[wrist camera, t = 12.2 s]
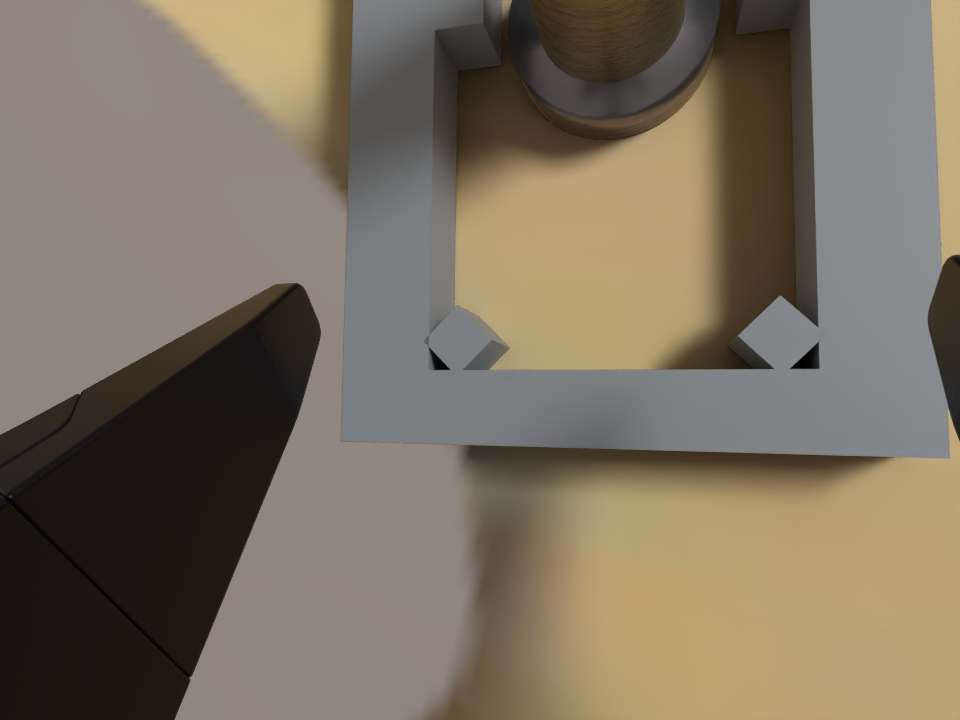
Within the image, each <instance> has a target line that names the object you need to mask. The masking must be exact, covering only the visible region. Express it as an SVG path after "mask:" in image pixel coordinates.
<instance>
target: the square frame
mask: <svg viewBox="0 0 960 720" xmlns="http://www.w3.org/2000/svg"><path fill="white" fill-rule="evenodd" d="M787 28H790V61H791V102H792V143H793V184H794V225H795V266H796V307H797V309H796V308H795V307H794V306H793V305H791V304H790V303H789V302H788V301H787V300H786V299H784V298H783V297H782V296H781V295H780V296H779V297H778V298H777V299H775V300H774V301H773V302H772V303H771V304H770V305H769V306H768V307H766V308H765V309H764V310H763V311H762V312H761V313H760V314H759V315H758V316H757V317H756V318H755V319H754V320H753V321H752V322H751V323H750V324H749V325H747V326H746V327H745V328H744V329H743V330H742V331H741V332H740V333H739V334H738V335H737V336H736V337H735V338H734V339H733V340H732V341H731V342H730V343H729V344H728V346H729V347H730V348H731V349H732V350H733V351H734V352H735V353H736V354H737V355H739V356H740V357H741V358H742V359H743V360H744V361H745V362H746V363H747V364H748V365H750V366H751V367H752V368H753V369H671V370H489V369H490V368H491V367H492V366H493V365H494V364H495V363H496V361H497V360H498V359H499V358H500V357H501V356H502V355H503V354H504V353H505V352H506V351H507V350H508V349H509V348H510V347H509V346H508V345H507V344H506V343H505V342H504V341H503V340H502V339H501V338H500V337H499V336H498V335H497V334H496V333H495V332H494V331H493V330H492V329H491V328H490V327H489V326H488V325H487V324H486V323H485V322H484V321H483V320H482V319H481V318H480V317H479V316H477V315H475V314H473V313H472V312H470V311H468V310H466V309H464V308H462V307H461V306H459V305H457V306H456V307H455V308H454V290H455V226H456V163H457V99H458V71H461V70H469V69H476V68H484V67H492V66H500V65H502V0H353V28H352V63H351V98H350V133H349V169H348V204H347V240H346V274H345V309H344V345H343V346H344V347H343V380H342V415H341V441H345V442H346V441H347V442H381V443H418V444H451V445H487V446H522V447H558V448H593V449H628V450H664V451H699V452H735V453H770V454H805V455H841V456H876V457H912V458H947V459H950V450H949V426H948V404H947V400H946V396H945V392H944V388H943V384H942V380H941V376H940V372H939V368H938V364H937V360H936V356H935V353H934V349H933V345H932V341H931V337H930V333H929V329H928V310H929V307H930V304H931V301H932V297H933V294H934V291H935V288H936V285H937V282H938V279H939V276H940V273H941V270H942V257H941V233H940V209H939V185H938V161H937V137H936V113H935V89H934V65H933V41H932V17H931V0H735V35H740V34H748V33H756V32H763V31H771V30H779V29H787ZM797 361H798V369H790V368H791V367H792V366H793V365H794V364H795V363H796V362H797Z"/></svg>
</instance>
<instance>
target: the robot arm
mask: <svg viewBox="0 0 960 720" xmlns="http://www.w3.org/2000/svg"><path fill="white" fill-rule="evenodd" d="M928 329H929V333H930V337H931V341H932V345H933V349H934V353H935V356H936V360H937V364H938V368H939V372H940V376H941V380H942V384H943V388H944V392H945V396H946V400H947V404H948V408H949V411H950V415H951V418H952V422H953V425H954V428H955V430H956V433H957V436H958V438H959V441H960V255H953V256H951V257H950V258H948V259H947V260H946V262H945V263H944V265H943V267H942V270H941V273H940V276H939V279H938V282H937V285H936V288H935V291H934V294H933V297H932V301H931V304H930V307H929V310H928ZM320 335H321V330H320V324H319V321H318V319H317V317H316V314H315V312H314V309H313V307H312V305H311V303H310V300H309V297H308V295H307V293H306V291H305V289H304V288H303V286H301V285H300V284H298V283H287V284H276V285H273V286H272V287H270V288H268V289H266V290H264V291H262V292H261V293H259V294H257V295H255V296H253V297H251V298H250V299H248V300H246V301H244V302H242V303H241V304H239V305H237V306H235V307H233V308H232V309H230V310H228V311H226V312H224V313H223V314H221V315H219V316H217V317H215V318H213V319H212V320H210V321H208V322H206V323H204V324H203V325H201V326H199V327H197V328H196V329H194V330H192V331H190V332H188V333H186V334H185V335H183V336H181V337H179V338H177V339H175V340H174V341H172V342H170V343H168V344H166V345H165V346H163V347H161V348H159V349H157V350H156V351H154V352H152V353H150V354H148V355H147V356H145V357H143V358H141V359H139V360H138V361H136V362H134V363H132V364H130V365H128V366H127V367H125V368H123V369H121V370H119V371H118V372H116V373H114V374H112V375H110V376H109V377H107V378H105V379H103V380H101V381H99V382H98V383H96V384H94V385H92V386H90V387H89V388H87V389H85V390H83V391H82V392H81V394H76V395H74V396H72V397H70V398H69V399H67V400H65V401H63V402H61V403H59V404H58V405H56V406H54V407H52V408H51V409H48V410H47V411H45V412H43V413H41V414H39V415H37V416H36V417H34V418H32V419H30V420H28V421H26V422H24V423H22V424H21V425H19V426H17V427H15V428H13V429H11V430H9V431H7V432H5V433H3V434H1V435H0V720H175V717H176V714H177V712H178V709H179V707H180V705H181V702H182V700H183V698H184V695H185V692H186V690H187V688H188V685H189V683H190V678H189V677H191V676H192V675H193V672H194V670H195V667H196V665H197V662H198V660H199V657H200V655H201V653H202V650H203V648H204V645H205V643H206V640H207V638H208V635H209V633H210V631H211V628H212V626H213V623H214V621H215V618H216V616H217V613H218V611H219V609H220V606H221V604H222V601H223V598H224V596H225V594H226V591H227V589H228V587H229V584H230V582H231V579H232V577H233V574H234V572H235V569H236V567H237V565H238V562H239V560H240V557H241V555H242V552H243V550H244V547H245V545H246V542H247V540H248V538H249V535H250V533H251V530H252V528H253V525H254V523H255V521H256V518H257V515H258V513H259V511H260V508H261V506H262V503H263V501H264V498H265V496H266V494H267V491H268V489H269V486H270V484H271V481H272V479H273V476H274V474H275V472H276V469H277V466H278V464H279V462H280V459H281V457H282V454H283V452H284V449H285V447H286V445H287V442H288V439H289V437H290V435H291V432H292V430H293V427H294V425H295V422H296V419H297V417H298V414H299V411H300V407H301V405H302V401H303V398H304V394H305V391H306V387H307V384H308V380H309V377H310V373H311V370H312V366H313V363H314V359H315V355H316V352H317V348H318V345H319V341H320Z"/></svg>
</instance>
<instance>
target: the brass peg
mask: <svg viewBox="0 0 960 720" xmlns="http://www.w3.org/2000/svg"><path fill="white" fill-rule="evenodd" d="M720 2H721V0H512V4H511V8H510V13H509V21H508V35H509V42H510V48H511V51H512V55H513V58H514V61H515V64H516V66H517V69H518V71H519V74H520V76H521V79H522V81H523V84H524V87H525V89H526V91H527V93H528V95H529V98H530V99H531V101H532V102H533V104H534V105H535V107H536V108H537V109H538V111H539V112H540V113H541V114H542V115H543V116H544V117H545V118H546V119H547V120H549V121H550V122H551V123H552V124H554V125H556V126H557V127H559V128H560V129H562V130H564V131H567V132H569V133H571V134H574V135H577V136H581V137H585V138H592V139H617V138H624V137H628V136H632V135H636V134H639V133H641V132H644V131H647V130H649V129H651V128H653V127H655V126H657V125H659V124H661V123H662V122H664V121H665V120H667V119H668V118H670V117H671V116H672V115H673V114H675V113H676V112H677V111H678V110H679V109H680V108H682V107H683V105H684V104H685V103H686V102H687V101H688V100H689V99H690V98H691V97H692V95H693V94H694V92H695V91H696V90H697V88H698V87H699V85H700V83H701V82H702V80H703V78H704V76H705V74H706V72H707V69H708V66H709V64H710V61H711V56H712V52H713V48H714V42H715V36H716V30H717V25H718V19H719V12H720Z"/></svg>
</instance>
